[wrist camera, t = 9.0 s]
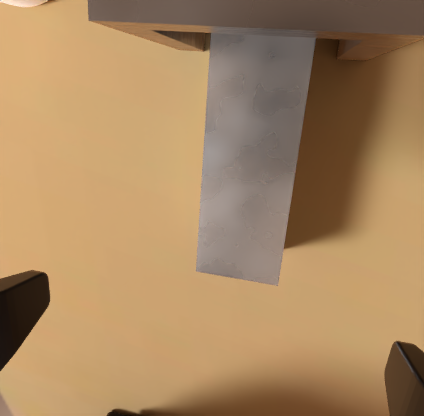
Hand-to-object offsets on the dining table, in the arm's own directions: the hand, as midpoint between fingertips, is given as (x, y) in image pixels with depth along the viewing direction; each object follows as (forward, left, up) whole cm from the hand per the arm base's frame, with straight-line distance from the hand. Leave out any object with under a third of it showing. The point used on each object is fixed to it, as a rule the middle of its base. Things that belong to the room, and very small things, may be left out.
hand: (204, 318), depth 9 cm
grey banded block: (+6, 0, -12) cm, 13 cm away
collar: (+8, 0, -12) cm, 14 cm away
